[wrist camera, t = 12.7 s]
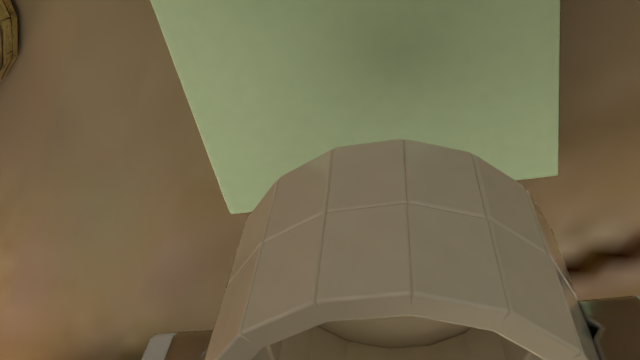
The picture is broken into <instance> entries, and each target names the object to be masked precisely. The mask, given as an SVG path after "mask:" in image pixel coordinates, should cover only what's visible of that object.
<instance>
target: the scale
mask: <svg viewBox="0 0 640 360" xmlns="http://www.w3.org/2000/svg"><path fill="white" fill-rule="evenodd" d="M150 1H151V3H152V6H153V9H154V11H155V14H156V17H157V19H158V22H159V25H160V27H161V30H162V33H163V35H164V38H165V41H166V43H167V46H168V49H169V51H170V54H171V57H172V59H173V62H174V65H175V68H176V70H177V73H178V76H179V78H180V81H181V84H182V86H183V89H184V92H185V94H186V97H187V100H188V102H189V105H190V108H191V110H192V113H193V116H194V118H195V121H196V124H197V126H198V129H199V132H200V134H201V137H202V140H203V142H204V145H205V148H206V150H207V153H208V156H209V159H210V161H211V164H212V167H213V169H214V172H215V175H216V177H217V180H218V183H219V185H220V188H221V191H222V193H223V196H224V199H225V201H226V204H227V207H228V209H229V212H230V214H237V213H245V212H252V211H253V210H254V209H255V207H256V206H257V205H258V203H259V202H260V201H261V200H262V198H263V197H264V196H265V194H266V193H267V192H268V190H269V189H270V188H271V186H272V185H273V184H274V183H275V181H277V180H279V178H280V177H281V176H283V175H284V174H286V173H288V172H290V171H292V170H294V169H296V168H297V167H299V166H301V165H303V164H305V163H307V162H309V161H311V160H312V159H314V158H316V157H318V156H320V155H322V154H324V153H325V152H327V151H329V150H331V149H333V150H334V148H336V147H342V146H349V145H357V144H364V143H371V142H378V141H386V140H393V139H400V138H401V139H403V140H406V139H408V140H413V141H418V142H423V143H427V144H432V145H437V146H442V147H447V148H452V149H457V150H462V151H467V152H470V153H471V154H472V155H476V156H478V157H480V158H481V159H483V160H484V161H486V162H487V163H489V164H490V165H492V166H494V167H495V168H497V169H498V170H500V171H501V172H503V173H504V174H506V175H507V176H509V177H511V178H512V179H514V180H522V179H531V178H539V177H548V176H556V175H558V127H559V51H560V0H150Z"/></svg>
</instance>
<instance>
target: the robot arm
mask: <svg viewBox="0 0 640 360" xmlns="http://www.w3.org/2000/svg"><path fill="white" fill-rule="evenodd" d="M578 302H579V304H580V306H581V309H582V311H583V314H584V317H585V320H586V322H587V325H588V328H589V330H590V333H591V336H592V339H593V341H594V344H595V347H596V350H597V352H598V355H599V358H600V360H640V295H638V296H635V297H634V296H624V297H613V298H602V299H591V300H580V301H578ZM212 332H213V330H212V331H193V332H177V333H163V334H155V335H154V336H153V337H152V338H151V339H150V340H149V342H148V345H147V347H146V350H145V352H144V354H143V357H142V359H141V360H204V359H205V356H206V352H207V349H208V346H209V342H210V339H211V336H212Z"/></svg>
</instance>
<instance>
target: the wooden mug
mask: <svg viewBox="0 0 640 360" xmlns="http://www.w3.org/2000/svg"><path fill="white" fill-rule="evenodd" d="M17 56H18V40H17V15H16V13H15V11H14V8H13V6H12V3H11V0H0V82H1V81H2V80H3V79H4V78H5V77H6V76H7V74H8V73H9V71H10V69H11V67H12V65H13V63H14V61H15V60H16V58H17Z"/></svg>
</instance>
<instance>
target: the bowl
mask: <svg viewBox="0 0 640 360" xmlns="http://www.w3.org/2000/svg"><path fill="white" fill-rule="evenodd" d="M204 360H600V358H599V355H598V352H597V350H596V347H595V344H594V341H593V339H592V336H591V333H590V330H589V328H588V325H587V322H586V320H585V317H584V314H583V311H582V309H581V306H580V304H579V302H578V301H577V296H576V293H575V290H574V288H573V285H572V282H571V279H570V277H569V274H568V271H567V268H566V266H565V263H564V260H563V258H562V255H561V252H560V249H559V247H558V244H557V241H556V238H555V236H554V233H553V231H552V229H551V227H550V226H549V224H548V222H547V221H546V219H545V217H544V216H543V214H542V212H541V211H540V209H539V207H538V205H537V204H536V202H535V200H534V199H533V197H532V195H531V194H530V192H529V191H528V190H526V189H525V187H524V186H523V185H521V184H520V183H518V182H517V181H515V180H514V179H512V178H511V177H509V176H507V175H506V174H504V173H503V172H501V171H500V170H498V169H497V168H495V167H494V166H492V165H490V164H489V163H487V162H486V161H484V160H483V159H481V158H480V157H478V156H476V155H472V154H471V153H470V152H467V151H462V150H457V149H452V148H447V147H442V146H437V145H432V144H427V143H423V142H418V141H413V140H408V139H406V140H403V139H401V138H400V139H393V140H386V141H378V142H371V143H364V144H357V145H349V146H342V147H336V148H334V150H333V149H331V150H329V151H327V152H325V153H324V154H322V155H320V156H318V157H316V158H314V159H312V160H311V161H309V162H307V163H305V164H303V165H301V166H299V167H297V168H296V169H294V170H292V171H290V172H288V173H286V174H284V175H283V176H281V177H280V178H279V180H277V181H275V183H274V184H273V185H272V186H271V188H270V189H269V190H268V192H267V193H266V194H265V196H264V197H263V198H262V200H261V201H260V202H259V203H258V205H257V206H256V207H255V209H254V210H253V211H252V213H251V214H250V215H249V217H248V218H247V220H246V224H245V225H244V228H243V232H242V235H241V239H240V242H239V245H238V249H237V252H236V255H235V259H234V262H233V266H232V269H231V272H230V276H229V279H228V282H227V286H226V290H225V292H224V295H223V299H222V302H221V305H220V309H219V312H218V315H217V319H216V322H215V326H214V329H213V332H212V336H211V339H210V342H209V346H208V349H207V352H206V356H205V359H204Z"/></svg>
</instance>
